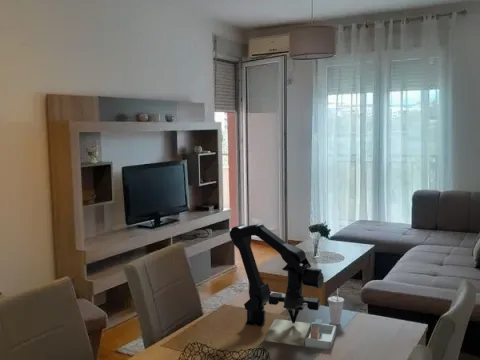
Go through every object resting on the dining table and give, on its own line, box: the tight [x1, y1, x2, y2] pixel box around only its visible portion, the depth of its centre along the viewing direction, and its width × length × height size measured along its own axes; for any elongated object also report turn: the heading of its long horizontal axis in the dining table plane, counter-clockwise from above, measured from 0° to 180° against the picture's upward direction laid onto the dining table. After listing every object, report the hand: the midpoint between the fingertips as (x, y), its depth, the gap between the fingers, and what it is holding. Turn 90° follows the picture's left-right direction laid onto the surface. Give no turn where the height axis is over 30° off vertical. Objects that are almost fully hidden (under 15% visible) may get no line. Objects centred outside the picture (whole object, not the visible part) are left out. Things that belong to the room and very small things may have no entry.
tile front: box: [310, 326, 320, 339], centre depth 178 cm, size 4×4×2 cm
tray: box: [304, 322, 337, 351], centre depth 181 cm, size 9×15×3 cm, turn 162°
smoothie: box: [327, 287, 345, 325], centre depth 196 cm, size 6×6×14 cm
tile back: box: [314, 318, 324, 336], centre depth 185 cm, size 4×4×2 cm
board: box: [264, 318, 312, 347], centre depth 185 cm, size 14×15×2 cm
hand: (293, 323), depth 188 cm, fingers closed
